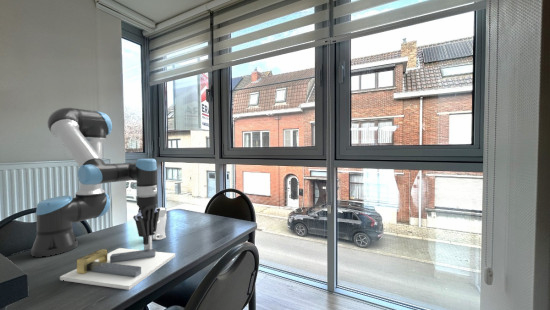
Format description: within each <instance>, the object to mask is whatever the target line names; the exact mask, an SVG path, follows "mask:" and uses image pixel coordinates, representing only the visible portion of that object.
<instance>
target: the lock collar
mask: <svg viewBox="0 0 550 310" xmlns="http://www.w3.org/2000/svg"><path fill="white" fill-rule="evenodd" d="M107 254H108V249H106V248H104V249H103V248H100V249H97V250H96V251H93V252H91V253H88V254H86V255H84V256H82V257H80V258H78V259H76V269H77V273H82V274H85V273H86V272H87V264H89V263H91V262H93V261H95V260H97V259H99V262H104V263H106V262H107Z"/></svg>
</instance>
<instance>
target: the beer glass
mask: <svg viewBox="0 0 550 310" xmlns="http://www.w3.org/2000/svg"><path fill="white" fill-rule="evenodd" d="M159 208H160V211H159V215H158V222H157V229H156V232H153V233H155V234H154V235H152V237H153V240H154V241H159V240H160V241H161V240H163V239H165V238H166V237H167V236H166V225H167V219H168V217H167V208H166V207H165V206H163V207H159ZM153 229H154V228H153ZM153 240H152V241H153Z"/></svg>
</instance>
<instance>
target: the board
mask: <svg viewBox="0 0 550 310" xmlns="http://www.w3.org/2000/svg"><path fill="white" fill-rule="evenodd" d="M140 250H141V249H134V248H133V249H132V248H122V247H118V248H116V249H115V250H112V251H110V252H107V262H106V263H110V256H111V255H112V254H117V253H125V252H133V251H140ZM174 258H176V253H173V252H164V251H156V255H155V257H149V258H142V259H135V260H128V261H121V262H114V263H113V264H122V265H130V266H139V267H141V274H140V275H138V276H137V277H130V276H122V275H114V274H106V273H98V272H90V271H87V272H86V273H85V274H82V273H77V268H75V269H73V270H71V271H69V272H67V273H64V274H62V275H61V276H59V281H63V280H64V282H70V283H71V282H72V283H79V284H85V285H91V286H92V285H93V286H97V287H105V288H107V287H108V288H114V289H121V290H127V291H128V290H129V291H130V290H131V289H133V288H135V286H137V285H138V284H140V283H141V282H142V281H144V280H145V279H146V278H148V277H149V276H150V275H152V274H154V273H155V272H156V271H157V270H159V269H160V268H161V267H163V266H165V264H167V263H168V262H170V261H171V260H173V259H174ZM95 261H96V262H99V259H97V260H95Z"/></svg>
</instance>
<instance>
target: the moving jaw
mask: <svg viewBox="0 0 550 310" xmlns="http://www.w3.org/2000/svg"><path fill="white" fill-rule="evenodd" d="M139 250H140V251H133V252H125V253H117V254H112V255H111V256H110V263H114V262H121V261H128V260H135V259H142V258H149V257H155V255H156V252H157V250H156V248H152V249H148V250H144V249H139Z"/></svg>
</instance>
